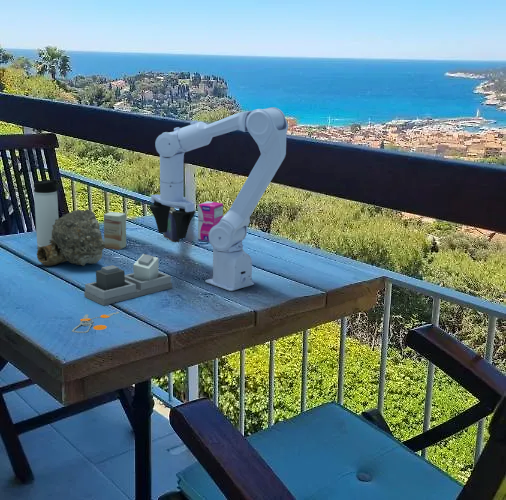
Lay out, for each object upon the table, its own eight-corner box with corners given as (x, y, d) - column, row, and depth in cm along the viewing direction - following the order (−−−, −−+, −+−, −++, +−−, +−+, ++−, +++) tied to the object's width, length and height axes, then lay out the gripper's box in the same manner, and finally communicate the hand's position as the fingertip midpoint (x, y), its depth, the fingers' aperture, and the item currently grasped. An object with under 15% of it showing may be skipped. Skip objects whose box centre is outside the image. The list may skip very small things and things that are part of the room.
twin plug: (125, 291, 154) (124, 267, 153) (106, 296, 151) (105, 271, 149) (115, 287, 157) (114, 263, 156) (96, 291, 154) (95, 267, 152)
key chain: (101, 336, 133) (101, 332, 133) (66, 333, 134) (65, 329, 134) (122, 313, 145) (122, 310, 145) (89, 311, 146) (89, 307, 146)
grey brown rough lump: (106, 199, 177) (48, 193, 169) (112, 247, 171) (53, 244, 163) (84, 234, 191) (30, 230, 183) (90, 280, 184) (34, 278, 177)
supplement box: (197, 240, 206) (197, 203, 203) (207, 236, 211) (207, 200, 208) (213, 243, 203) (213, 206, 200) (223, 239, 208) (223, 202, 205)
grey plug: (158, 275, 163) (158, 255, 159) (149, 286, 159) (148, 265, 155) (143, 271, 164) (143, 251, 160) (133, 282, 159) (133, 261, 156)
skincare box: (103, 248, 195) (102, 214, 192) (111, 244, 199) (110, 211, 196) (119, 250, 193) (118, 215, 191) (127, 246, 197) (126, 212, 195)
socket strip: (172, 287, 162) (172, 275, 161) (103, 305, 149) (103, 292, 148) (152, 280, 167) (151, 268, 166) (84, 296, 154) (83, 284, 153)
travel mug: (57, 251, 190) (53, 181, 185) (34, 251, 190) (29, 180, 185) (64, 246, 196) (60, 177, 191) (41, 245, 196) (37, 177, 191)
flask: (161, 235, 211) (161, 202, 208) (170, 234, 212) (170, 201, 209) (172, 242, 203) (172, 207, 200) (181, 241, 204) (181, 207, 202)
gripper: (203, 184, 163) (203, 238, 167) (166, 176, 173) (167, 227, 176) (180, 186, 158) (180, 242, 162) (144, 178, 168) (144, 231, 172)
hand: (172, 235), depth 169 cm, fingers open, 7 cm apart
